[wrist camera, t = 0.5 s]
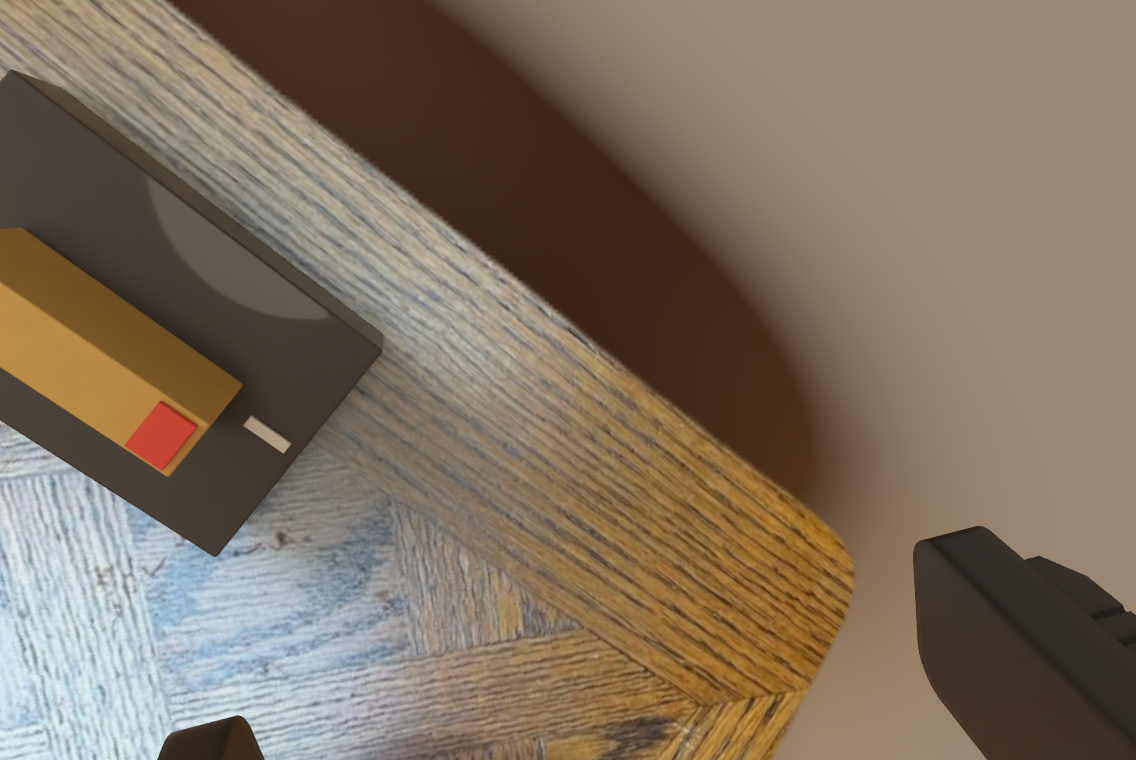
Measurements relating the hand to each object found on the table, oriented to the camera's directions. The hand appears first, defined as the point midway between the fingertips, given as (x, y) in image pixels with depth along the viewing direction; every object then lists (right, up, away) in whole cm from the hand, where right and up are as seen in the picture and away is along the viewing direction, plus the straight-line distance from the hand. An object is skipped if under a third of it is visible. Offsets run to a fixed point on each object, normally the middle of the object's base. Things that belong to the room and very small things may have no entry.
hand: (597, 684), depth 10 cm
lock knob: (-13, +5, +14) cm, 20 cm away
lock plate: (-14, +6, +18) cm, 23 cm away
